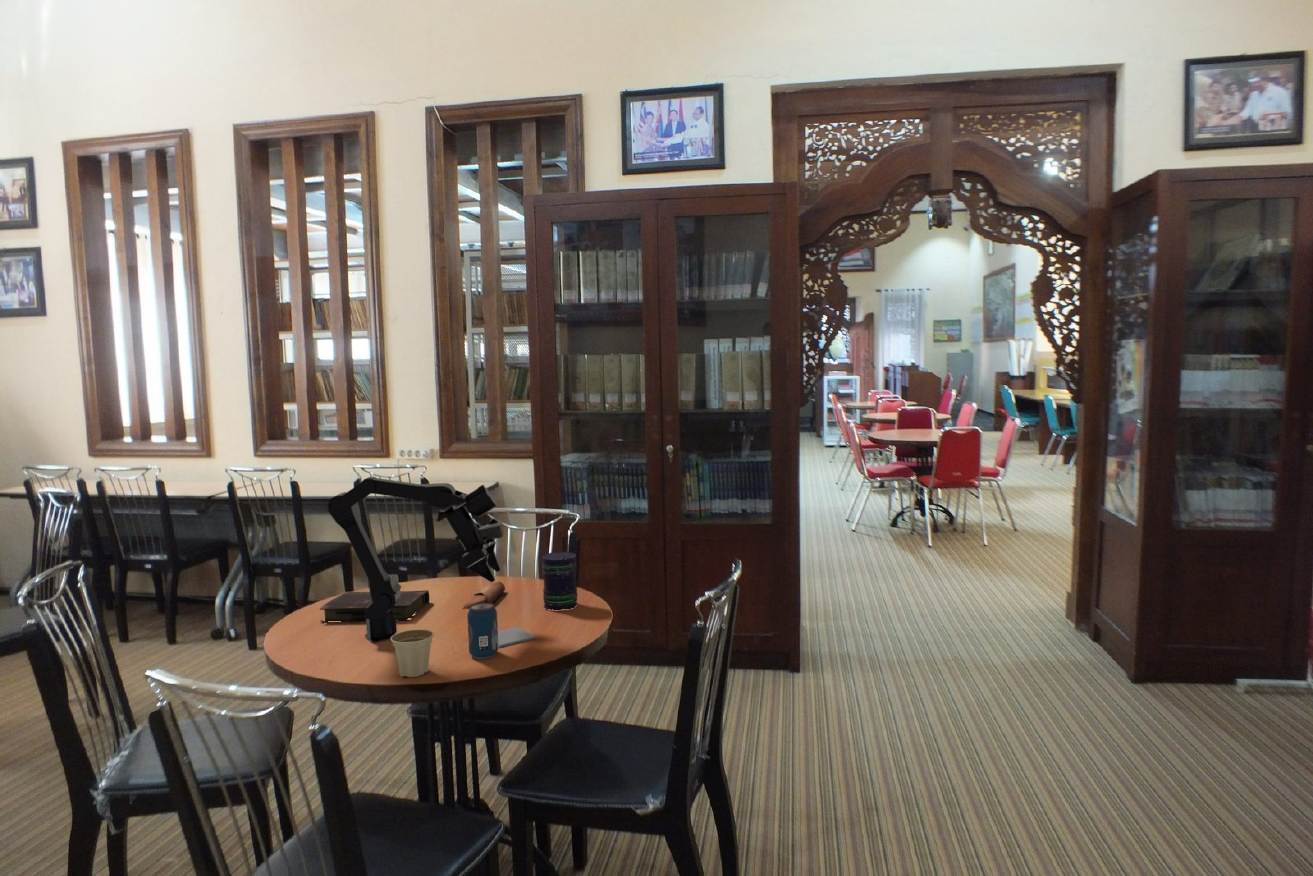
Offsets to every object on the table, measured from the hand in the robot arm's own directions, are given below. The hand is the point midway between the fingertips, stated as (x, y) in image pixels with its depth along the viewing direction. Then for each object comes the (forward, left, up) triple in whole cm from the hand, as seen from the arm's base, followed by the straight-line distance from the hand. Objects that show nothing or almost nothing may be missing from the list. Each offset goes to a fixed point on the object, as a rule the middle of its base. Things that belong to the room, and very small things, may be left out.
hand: (496, 576), depth 201 cm
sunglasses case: (+9, +28, -15) cm, 33 cm away
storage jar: (+23, +7, -15) cm, 28 cm away
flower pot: (-28, -15, -15) cm, 35 cm away
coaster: (-1, -8, -14) cm, 16 cm away
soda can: (-11, -15, -15) cm, 24 cm away
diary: (-20, +38, -15) cm, 46 cm away
